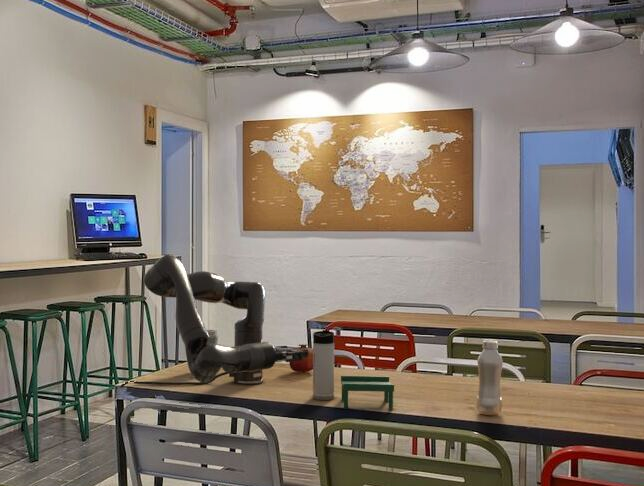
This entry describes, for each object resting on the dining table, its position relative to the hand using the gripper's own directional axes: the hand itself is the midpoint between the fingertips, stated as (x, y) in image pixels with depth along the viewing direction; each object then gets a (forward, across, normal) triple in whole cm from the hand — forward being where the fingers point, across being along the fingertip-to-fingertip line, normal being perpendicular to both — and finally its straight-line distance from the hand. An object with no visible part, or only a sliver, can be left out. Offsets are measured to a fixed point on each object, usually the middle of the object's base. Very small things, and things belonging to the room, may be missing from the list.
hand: (297, 351), depth 214 cm
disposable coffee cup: (+9, -56, -15) cm, 59 cm away
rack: (+14, +14, -15) cm, 25 cm away
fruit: (+35, -33, -15) cm, 50 cm away
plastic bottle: (+30, +43, -15) cm, 55 cm away
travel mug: (+11, 0, -15) cm, 19 cm away
